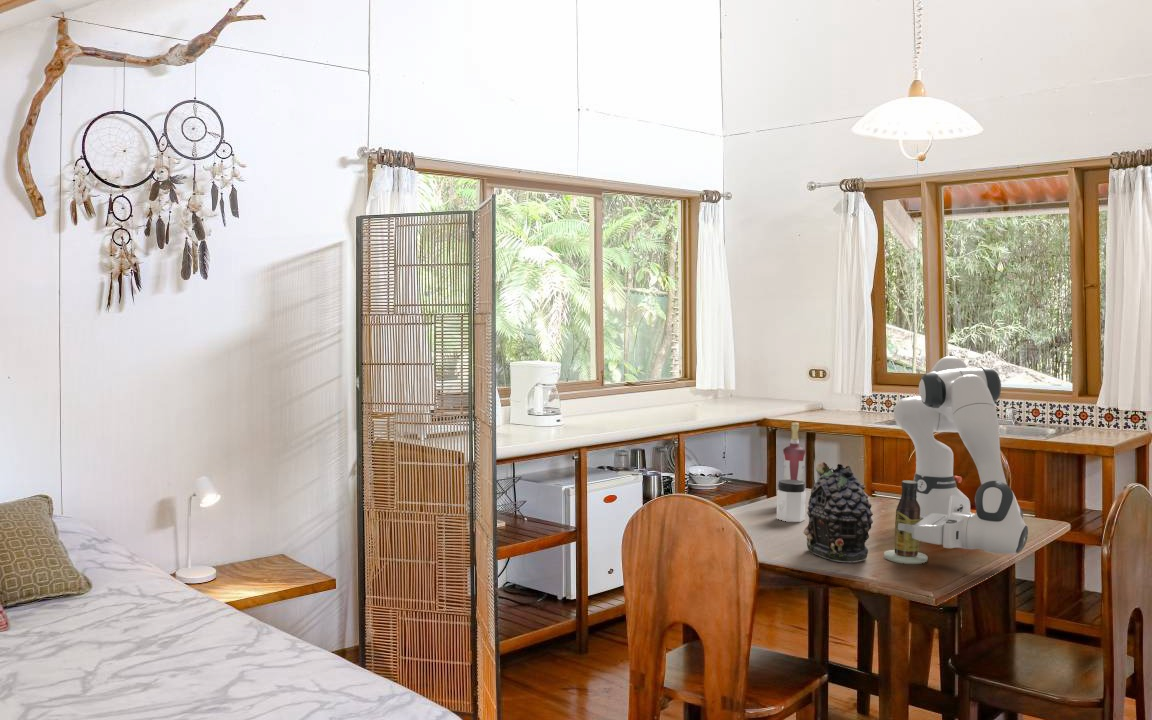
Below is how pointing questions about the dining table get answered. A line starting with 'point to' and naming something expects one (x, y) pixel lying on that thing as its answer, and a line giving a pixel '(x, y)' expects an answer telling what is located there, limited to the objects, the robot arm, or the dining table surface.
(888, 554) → the round plate
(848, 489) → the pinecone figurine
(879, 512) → the dining table surface
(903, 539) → the sauce bottle
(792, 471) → the liquor
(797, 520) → the jar
